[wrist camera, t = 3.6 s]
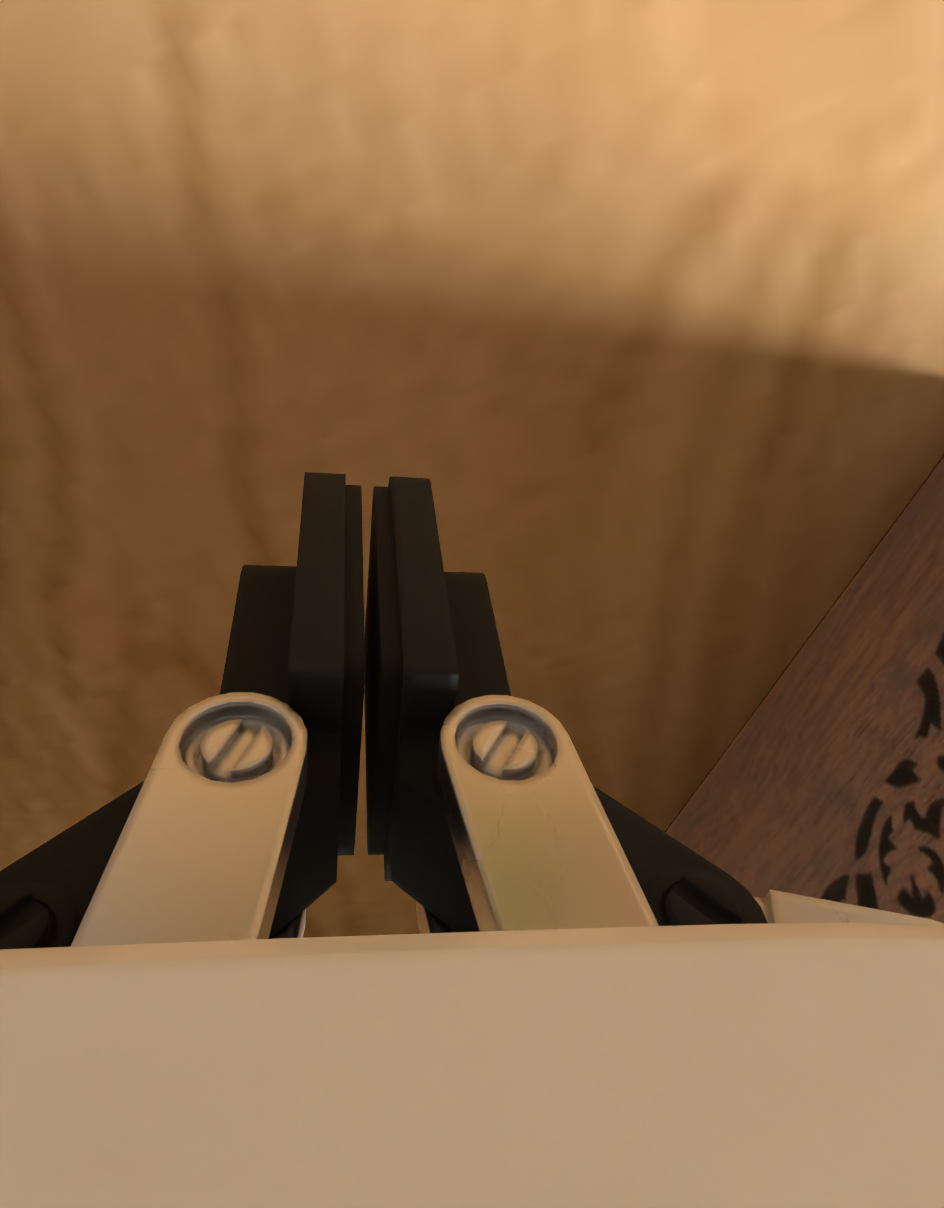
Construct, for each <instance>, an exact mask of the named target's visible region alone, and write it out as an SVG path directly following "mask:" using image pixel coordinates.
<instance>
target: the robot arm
mask: <svg viewBox="0 0 944 1208" xmlns="http://www.w3.org/2000/svg"><path fill="white" fill-rule="evenodd" d="M364 692H365V745H366V798H367V848H368V855H381V854H384V868H385V881H392V882H394V883H395V884H396V885H397V886H399V887H400V888H401V889H402V890H404V891H405V892H406V893H407V894H408V895H410V896H411V897H412V898H413V899H415V900H416V901H417V904H416V912H417V924H418V928H419V932H420V934H394V935H366V936H337V937H309V938H303V934H304V929H305V921H306V908H307V907H308V906H309V905H310V904H312V903H313V902H314V901H315V900H316V899H317V898H318V897H320V896H321V895H322V894H323V893H324V892H325V891H327V890H328V889H329V888H330V887H331V886H332V885H333V884H335V883H336V880H337V856H338V855H354V847H355V831H356V814H357V798H358V782H359V765H360V749H361V733H362V716H363V700H364ZM0 1208H944V923H941V922H938V921H935V920H932V919H927V918H921V917H916V916H911V915H905V914H900V913H894V912H889V911H884V910H878V909H873V908H867V907H862V906H857V905H851V904H846V903H840V902H835V901H830V900H824V899H819V898H813V897H808V896H803V895H797V894H792V893H787V892H781V891H776V890H769V891H768V893H767V895H766V897H765V898H759V897H754V896H752V895H751V893H750V892H749V891H748V890H747V889H746V888H745V887H744V886H743V885H742V884H740V883H739V882H738V881H737V880H735V879H734V878H733V877H732V876H731V875H729V874H728V873H726V872H725V871H723V870H722V869H720V868H719V867H717V866H716V865H714V864H712V863H711V862H709V861H708V860H706V859H705V858H703V857H702V856H700V855H699V854H697V853H695V852H694V851H692V850H691V849H689V848H688V847H686V846H685V845H683V844H682V843H680V842H679V841H677V840H675V839H674V838H672V837H671V836H669V835H668V834H666V833H665V832H663V831H662V830H660V829H659V828H657V827H655V826H654V825H652V824H651V823H649V822H648V821H646V820H645V819H643V818H642V817H640V816H638V815H637V814H635V813H634V812H632V811H631V810H629V809H628V808H626V807H625V806H623V805H622V804H620V803H618V802H617V801H615V800H614V799H612V798H611V797H609V796H608V795H606V794H605V793H603V792H601V791H600V790H598V789H597V788H595V787H594V786H593V785H592V783H591V781H590V779H589V777H588V775H587V773H586V771H585V769H584V766H583V764H582V762H581V760H580V758H579V756H578V754H577V752H576V750H575V747H574V745H573V743H572V741H571V739H570V737H569V735H568V733H567V731H566V730H565V729H564V727H563V726H562V724H561V723H560V721H559V720H558V719H557V718H556V717H554V716H553V715H552V714H551V713H550V712H548V711H547V710H546V709H545V708H543V707H541V706H539V705H537V704H535V703H532V702H530V701H528V700H526V699H521V698H517V697H513V696H511V694H510V689H509V684H508V680H507V675H506V670H505V666H504V661H503V656H502V651H501V647H500V642H499V637H498V633H497V628H496V623H495V618H494V614H493V609H492V604H491V599H490V595H489V590H488V585H487V581H486V578H485V575H484V574H483V573H467V572H444V569H443V563H442V556H441V549H440V542H439V536H438V529H437V522H436V515H435V508H434V502H433V495H432V488H431V482H430V479H428V478H408V477H390V478H389V485H388V487H378V486H374V489H373V503H372V520H371V537H370V554H369V571H368V588H367V605H366V622H365V639H364V595H363V546H362V496H361V486H358V485H346V474H331V473H311V472H305V477H304V489H303V501H302V513H301V525H300V536H299V548H298V560H297V567H291V566H261V565H244V566H243V567H242V571H241V575H240V581H239V587H238V593H237V599H236V604H235V610H234V616H233V622H232V628H231V633H230V639H229V645H228V651H227V657H226V663H225V668H224V674H223V680H222V686H221V692H220V695H217V696H212V697H209V698H207V699H205V700H203V701H200V702H198V703H196V704H194V705H192V706H190V707H189V708H188V709H187V710H185V711H184V712H183V713H181V714H180V715H179V716H178V717H176V719H175V720H174V722H173V723H172V725H171V726H170V728H169V729H168V731H167V732H166V734H165V736H164V739H163V741H162V743H161V745H160V748H159V750H158V752H157V754H156V756H155V759H154V761H153V763H152V765H151V768H150V770H149V772H148V774H147V777H146V779H145V781H143V782H142V783H140V784H138V785H137V786H135V787H134V788H132V789H130V790H129V791H127V792H126V793H124V794H122V795H121V796H119V797H118V798H116V799H114V800H113V801H111V802H110V803H108V804H107V805H105V806H103V807H102V808H100V809H99V810H97V811H95V812H94V813H92V814H91V815H89V816H87V817H86V818H84V819H83V820H81V821H79V822H78V823H76V824H75V825H73V826H72V827H70V828H68V829H67V830H65V831H64V832H62V833H60V834H59V835H57V836H56V837H54V838H52V839H51V840H49V841H48V842H46V843H44V844H43V845H41V846H40V847H38V848H37V849H35V850H33V851H32V852H30V853H29V854H27V855H25V856H24V857H22V858H21V859H19V860H17V861H16V862H14V863H13V864H11V865H9V866H8V867H6V868H5V869H3V870H1V871H0Z"/></svg>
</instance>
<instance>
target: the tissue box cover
mask: <svg viewBox="0 0 944 1208" xmlns="http://www.w3.org/2000/svg"><path fill="white" fill-rule="evenodd" d="M665 833H666V834H668V835H669V836H671V837H672V838H674V839H675V840H677V841H679V842H680V843H682V844H683V845H685V846H686V847H688V848H689V849H691V850H692V851H694V852H695V853H697V854H699V855H700V856H702V857H703V858H705V859H706V860H708V861H709V862H711V863H712V864H714V865H716V866H717V867H719V868H720V869H722V870H723V871H725V872H726V873H728V874H729V875H731V876H732V877H733V878H734V879H735V880H737V881H738V882H739V883H740V884H742V885H743V886H744V887H745V888H746V889H747V890H748V891H749V892H750V893H751V895H752V896H754V897H759V898H765V897H766V895H767V893H768V891H769V890H776V891H781V892H787V893H792V894H797V895H803V896H808V897H813V898H819V899H824V900H830V901H835V902H840V903H846V904H851V905H857V906H862V907H867V908H873V909H878V910H884V911H889V912H894V913H900V914H905V915H911V916H916V917H921V918H927V919H932V920H935V921H938V922H941V923H944V457H943V459H942V460H941V461H940V463H939V464H938V465H937V467H936V468H935V469H934V471H933V472H932V473H931V475H930V476H929V477H928V479H927V480H926V482H925V483H924V484H923V486H922V487H921V488H920V490H919V491H918V492H917V494H916V495H915V496H914V498H913V499H912V500H911V502H910V503H909V504H908V506H907V507H906V509H905V510H904V511H903V513H902V514H901V515H900V517H899V518H898V519H897V521H896V522H895V523H894V525H893V526H892V527H891V529H890V530H889V531H888V533H887V534H886V536H885V537H884V538H883V540H882V541H881V542H880V544H879V545H878V546H877V548H876V549H875V550H874V552H873V553H872V554H871V556H870V557H869V558H868V560H867V561H866V563H865V564H864V565H863V567H862V568H861V569H860V571H859V572H858V573H857V575H856V576H855V577H854V579H853V580H852V581H851V583H850V584H849V585H848V587H847V588H846V589H845V591H844V592H843V594H842V595H841V596H840V598H839V599H838V600H837V602H836V603H835V604H834V606H833V607H832V608H831V610H830V611H829V612H828V614H827V615H826V616H825V618H824V619H823V621H822V622H821V623H820V625H819V626H818V627H817V629H816V630H815V631H814V633H813V634H812V635H811V637H810V638H809V639H808V641H807V642H806V643H805V645H804V646H803V648H802V649H801V650H800V652H799V653H798V654H797V656H796V657H795V658H794V660H793V661H792V662H791V664H790V665H789V666H788V668H787V669H786V670H785V672H784V673H783V675H782V676H781V677H780V679H779V680H778V681H777V683H776V684H775V685H774V687H773V688H772V689H771V691H770V692H769V693H768V695H767V696H766V697H765V699H764V700H763V702H762V703H761V704H760V706H759V707H758V708H757V710H756V711H755V712H754V714H753V715H752V716H751V718H750V719H749V720H748V722H747V723H746V724H745V726H744V727H743V729H742V730H741V731H740V733H739V734H738V735H737V737H736V738H735V739H734V741H733V742H732V743H731V745H730V746H729V747H728V749H727V750H726V751H725V753H724V754H723V756H722V757H721V758H720V760H719V761H718V762H717V764H716V765H715V766H714V768H713V769H712V770H711V772H710V773H709V774H708V776H707V777H706V778H705V780H704V781H703V783H702V784H701V785H700V787H699V788H698V789H697V791H696V792H695V793H694V795H693V796H692V797H691V799H690V800H689V801H688V803H687V804H686V805H685V807H684V808H683V810H682V811H681V812H680V814H679V815H678V816H677V818H676V819H675V820H674V822H673V823H672V824H671V826H670V827H669V828H668V830H667V831H666V832H665Z"/></svg>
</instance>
